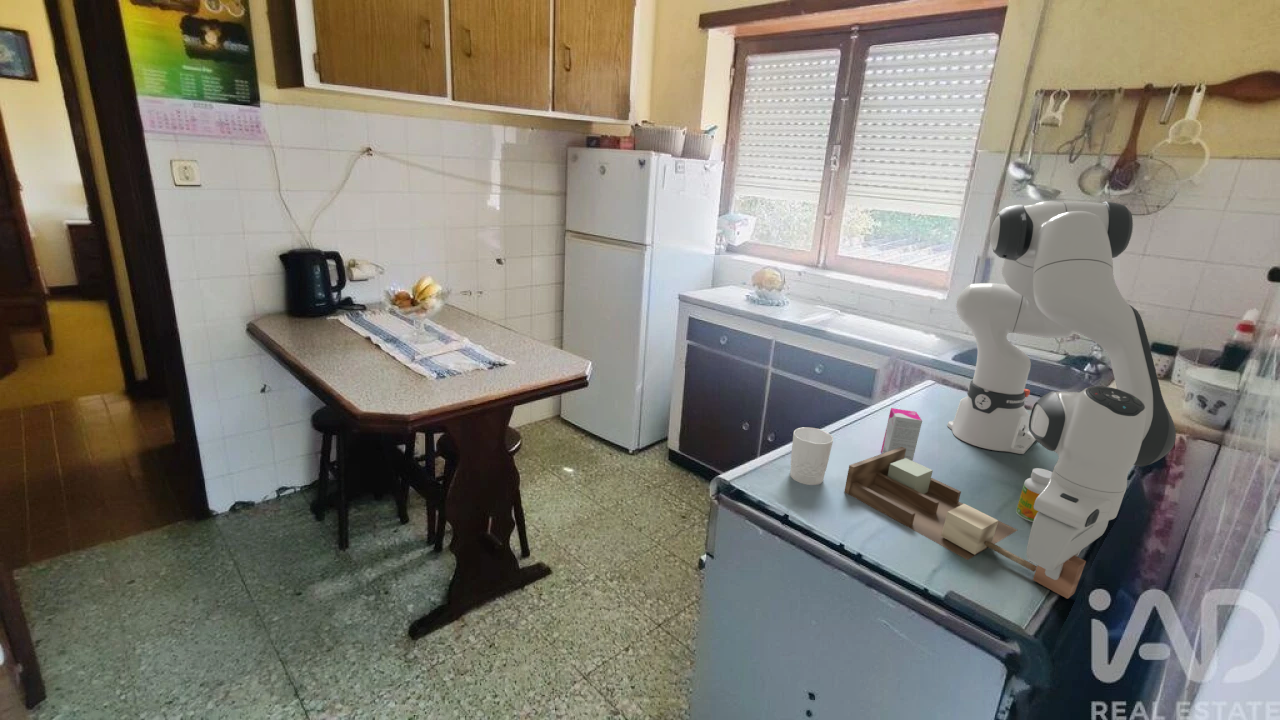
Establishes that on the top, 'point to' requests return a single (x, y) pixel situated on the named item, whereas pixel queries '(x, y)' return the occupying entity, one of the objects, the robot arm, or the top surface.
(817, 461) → the white cup
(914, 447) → the supplement box
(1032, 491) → the supplement bottle
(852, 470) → the walnut rack
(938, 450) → the top surface
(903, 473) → the sage block
